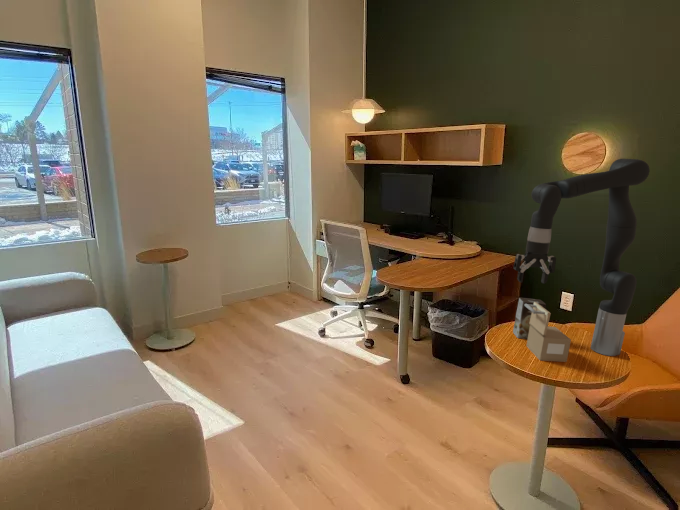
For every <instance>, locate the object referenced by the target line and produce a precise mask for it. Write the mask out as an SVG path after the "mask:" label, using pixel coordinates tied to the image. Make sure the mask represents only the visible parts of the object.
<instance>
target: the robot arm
mask: <svg viewBox="0 0 680 510" xmlns="http://www.w3.org/2000/svg"><path fill="white" fill-rule="evenodd" d="M649 175H650V166H649V164H648V163H647V162H646V161H644V160H642V159H637V158H618V159H616V160H614V161H613V162H612V163H611V165H610V167H609V168H608V170H606V171H601V172H600V171H599V172H593V173H584V174H580V175H579V174H578V175H576V176H575V175H574V176H573V177H572V176H571V177H568V178H565V179H563V180H562V179H561V180H555V181H554V180H553V181H549V182H548V181H547V182H542V183H539V184H538V185H536V186H534V188H533V189H532V191H531V196H530V197H531V199H532V200H533V201H534V202H535V203H537V204H540V205H539V208H538V210H535V211H533V212H532V215H531V221H530V227H529V229H528V235H527V238H526V239H527V240H526V246H525V252H524V254H519V253H516V254H515V257H514V263H513V267H512V268H513V270H515V271H516V272H517V277H516V279H517V282H519V283H523V281H524V275H525V274H524V272H525V271H526V270H527V269H529V268H537V269H538V268H540V269H541V270H542V274H541V280H540V283H541V284H546V283H547V282H548V279H549V275H550V274H551V273H552V274H553V273H555V271H556V262H557V257H556V256H554V255H550V256H548V254H549V249H550V244H551V239H552V229H553V227H552V226H553V223H554V222H553V221H554V217H555V214H556V213H557V211H558V209H559V207H560V205H561V201H562V199H573V198H576V197H580V196H583V195H586V194H587V195H588V194H590V193H594V192H598V191H604V190H608V209H607V222H606V230H605V231H606V233H605V246H604V254H603V260H602V266H601V270H600V276H599V285H600V288H601V289H602V290H604V291H606V292H608V293H611V294H613V296H612V299H603V300H601V301H600V303H599V307H598V311H597V314H596V315H597V316H596V321H595V325H594V330H593V334H592V340H591V343H590V349H591V350H592V351H593V352H596V353H597V354H600V355H603V356H609V357H610V356H611V357H615V356H619V355H621V351H622V348H623V347H622V346H623V343H624V340H625V334H626V332H625V331H624V328H625V327H624V326H625V322H626V319H627V318H626V317H627V314H628V310H629V308H630V307H631V305H632V302H633V299H634V295H635V292H636V288H637V282H638V281H637V278H636V276H635V275H634V274H633V273H630V272H627V271H623V270H620V265H621V263H620V262H621V258H622V256H623V255H624V254H625V252H626V251H627V250H628V249H629V248H630V246H631V245H632V244H633V243H634V241H635V239H636V234H637V226H638V223H637V221H638V219H637V216H636V213H635V211H634V208H633V205H632V203H631V201H630V196H629V193H630V192H629V191H630V186H637V185H641V184H642V183H643V182H645V181H646V180H647V179H648V177H649ZM523 259H524V262H522V261H523ZM547 261H548V266H547V264H546V263H547ZM521 262H522V263H521Z"/></svg>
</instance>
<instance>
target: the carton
mask: <svg viewBox="0 0 680 510" xmlns="http://www.w3.org/2000/svg"><path fill="white" fill-rule="evenodd" d="M526 340H527V341H526V347H527V348H528V350H529V351H530V352H531V353H532V354H534V356H535V357H536V358H537V359H538V360H539V361H546V362H547V361H548V362H561V363H563V362H564V363H567V362H568V356H569V351H570V346H571V341H572V339H571V338H570V337H568V335H566V334H565V333H563V332H562V331H561V330H560V329H559V328H557V327H556V326H549V325H548V327H547V331H546V336H545V337H543V336H542V335H541V334H540V333H538V332H537V331H536V330H535V329H534V328H533V327H532V326H531V325H530V328H529V334H528V339H526Z"/></svg>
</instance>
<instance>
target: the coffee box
mask: <svg viewBox="0 0 680 510" xmlns="http://www.w3.org/2000/svg"><path fill="white" fill-rule="evenodd" d="M534 302H537V303H538V304H539V305H541V306H542V307H543V308H545V309H547V308H546V306H547V304H546V303H545V301H543V300H541V299H537V298H536V299H535V298H528V297H521V296H520V297H518V304H517V309H516V312H515V320H514V324H513V330H512V333H513V334H514V336H515V337H516V338H517V339H523V340H528V334H529V328H530V324H529V323H530V318H531V314H532V312H531V311H530V310H529V309H528V308H526V307H525V306H524V304H530V305H533V304H534ZM532 308H533V307H532Z"/></svg>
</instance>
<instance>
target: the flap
mask: <svg viewBox="0 0 680 510" xmlns="http://www.w3.org/2000/svg"><path fill="white" fill-rule="evenodd" d="M524 306H525V307H526V308H528V309H529V310H530V311H531V312H532V314H531V318H530V323H529V324H530V325H531V326H532V327H533V328H534V329H535V330H536V331H537V332H538V333H540V334H541V335H542V336H543V337H545V336H546V331H547V327H548V326H549V322H550V318H551V314H552V313H551V312H550V311H549V310H547V308H543V307H542V306H541V305H539V304H538V303H537V302H534V304H533V305H530V304H524ZM532 307H533V308H532Z"/></svg>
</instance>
